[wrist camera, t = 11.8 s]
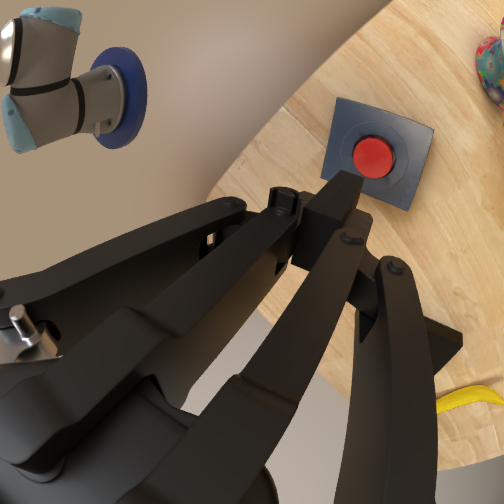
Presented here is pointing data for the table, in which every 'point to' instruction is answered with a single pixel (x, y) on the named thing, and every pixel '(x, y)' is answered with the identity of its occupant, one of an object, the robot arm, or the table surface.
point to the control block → (394, 134)
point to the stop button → (373, 157)
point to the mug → (492, 67)
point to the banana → (468, 397)
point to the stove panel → (442, 343)
